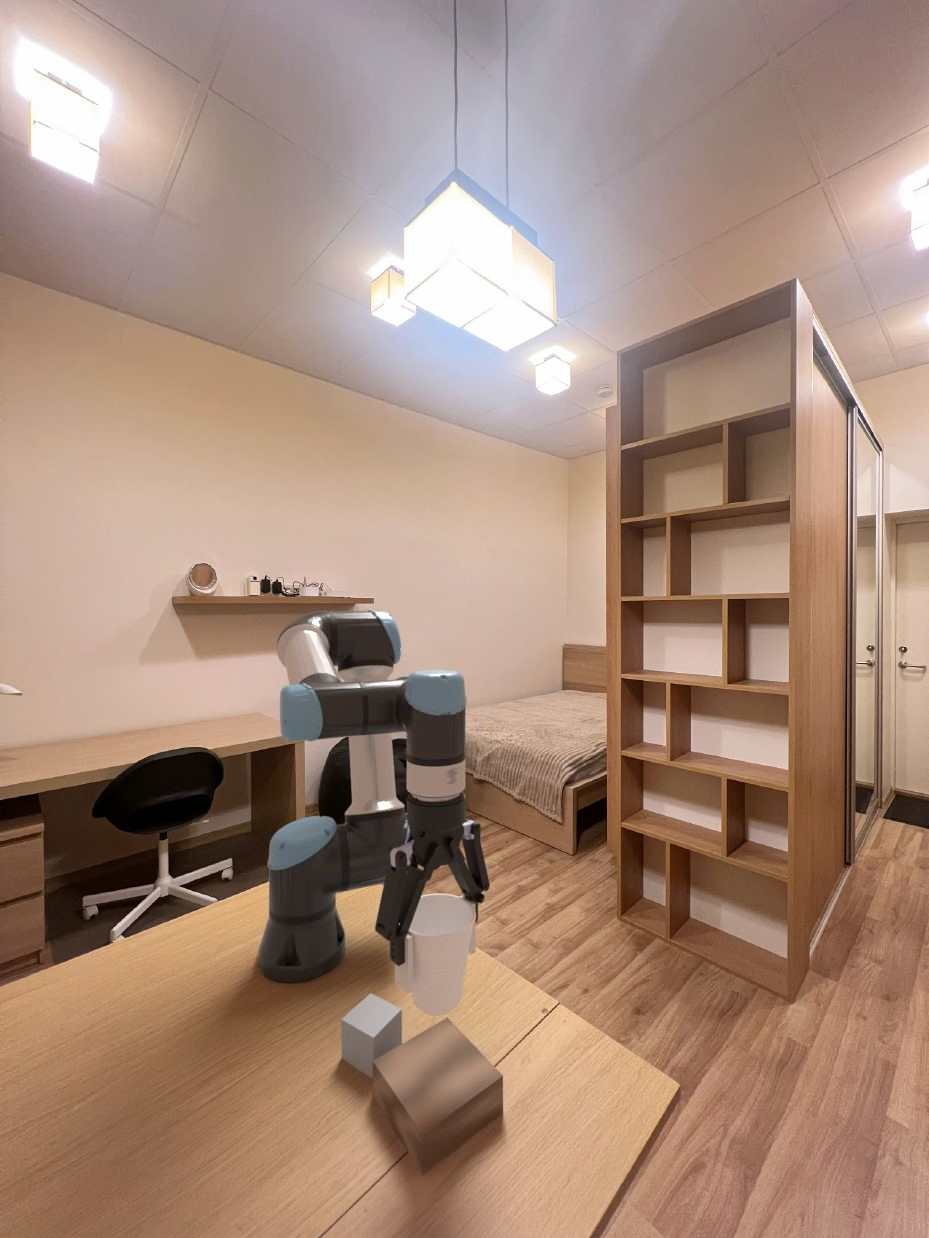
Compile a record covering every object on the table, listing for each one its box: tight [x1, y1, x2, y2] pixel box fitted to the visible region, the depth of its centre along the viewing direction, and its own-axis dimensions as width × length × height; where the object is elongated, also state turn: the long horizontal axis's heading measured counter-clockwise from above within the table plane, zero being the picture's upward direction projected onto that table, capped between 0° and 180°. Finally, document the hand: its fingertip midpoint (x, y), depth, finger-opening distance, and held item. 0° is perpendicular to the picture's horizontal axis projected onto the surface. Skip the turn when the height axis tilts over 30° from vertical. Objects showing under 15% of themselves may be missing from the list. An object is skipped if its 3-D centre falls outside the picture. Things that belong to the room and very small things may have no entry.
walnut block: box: [372, 1017, 504, 1176], centre depth 66 cm, size 12×12×5 cm
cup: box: [408, 893, 476, 1017], centre depth 66 cm, size 10×10×11 cm
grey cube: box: [340, 992, 403, 1080], centre depth 73 cm, size 6×6×6 cm
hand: (436, 966), depth 66 cm, fingers closed on cup, 10 cm apart
